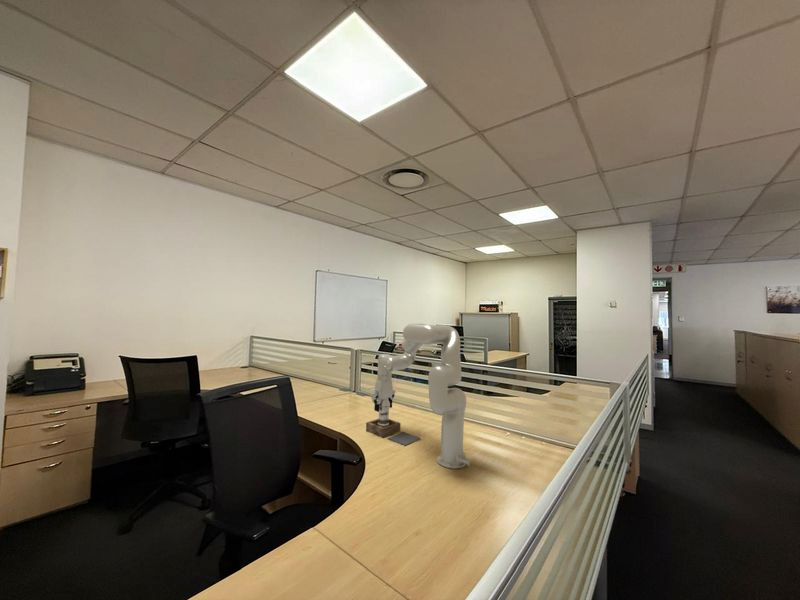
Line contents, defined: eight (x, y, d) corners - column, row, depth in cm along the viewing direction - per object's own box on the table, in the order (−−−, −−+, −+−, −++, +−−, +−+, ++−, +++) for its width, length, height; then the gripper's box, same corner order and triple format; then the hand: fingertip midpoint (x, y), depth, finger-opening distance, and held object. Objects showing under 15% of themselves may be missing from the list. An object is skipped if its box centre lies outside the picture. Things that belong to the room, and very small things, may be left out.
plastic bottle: (382, 428, 179) (383, 391, 180) (391, 431, 175) (392, 393, 175) (374, 431, 174) (375, 393, 175) (383, 434, 170) (384, 396, 170)
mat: (420, 439, 165) (420, 438, 165) (405, 446, 156) (405, 444, 156) (403, 432, 173) (403, 431, 173) (387, 439, 164) (387, 437, 164)
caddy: (400, 431, 175) (400, 422, 175) (383, 438, 165) (383, 429, 165) (383, 425, 184) (383, 417, 184) (366, 431, 174) (366, 422, 174)
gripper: (390, 374, 184) (389, 404, 184) (367, 378, 171) (366, 410, 171) (400, 376, 179) (399, 407, 179) (377, 381, 166) (376, 414, 166)
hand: (383, 409), depth 175 cm, fingers open, 9 cm apart
